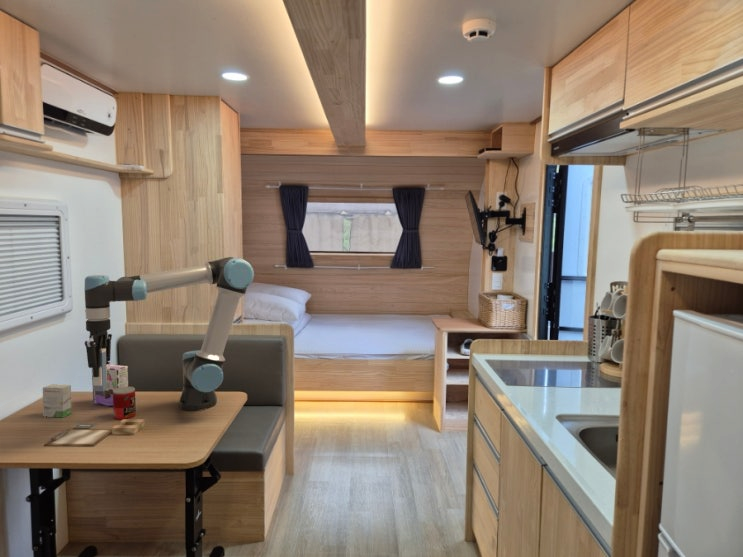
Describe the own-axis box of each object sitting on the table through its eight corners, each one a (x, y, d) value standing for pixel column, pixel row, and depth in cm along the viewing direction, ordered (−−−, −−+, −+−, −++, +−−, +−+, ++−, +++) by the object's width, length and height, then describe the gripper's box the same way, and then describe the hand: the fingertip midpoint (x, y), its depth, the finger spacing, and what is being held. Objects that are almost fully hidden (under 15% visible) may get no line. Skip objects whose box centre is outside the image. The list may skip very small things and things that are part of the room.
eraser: (107, 393, 170) (105, 348, 169) (103, 395, 168) (102, 350, 167) (97, 393, 170) (96, 348, 169) (93, 395, 168) (92, 349, 167)
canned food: (127, 421, 182) (126, 393, 181) (109, 419, 184) (107, 391, 183) (140, 413, 190) (139, 387, 189) (123, 412, 191) (122, 385, 190)
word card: (95, 424, 179) (95, 423, 179) (89, 428, 175) (89, 427, 175) (79, 424, 179) (79, 423, 178) (73, 428, 175) (73, 427, 174)
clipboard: (114, 430, 173) (114, 427, 173) (94, 446, 160) (93, 443, 160) (67, 430, 173) (67, 427, 173) (43, 446, 160) (43, 442, 160)
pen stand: (144, 425, 178) (144, 419, 178) (134, 434, 170) (134, 428, 170) (123, 425, 178) (123, 419, 177) (112, 434, 170) (111, 427, 170)
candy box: (92, 404, 200) (90, 366, 198) (103, 399, 205) (102, 362, 204) (118, 407, 196) (117, 369, 194) (129, 403, 201) (128, 365, 200)
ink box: (42, 417, 185) (41, 387, 184) (52, 412, 190) (51, 383, 189) (63, 418, 184) (61, 388, 183) (72, 413, 189) (71, 384, 188)
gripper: (99, 315, 174) (101, 377, 177) (73, 322, 159) (76, 390, 161) (120, 315, 175) (122, 377, 177) (96, 323, 159) (98, 391, 161)
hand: (100, 383), depth 169 cm, fingers closed on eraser, 2 cm apart
